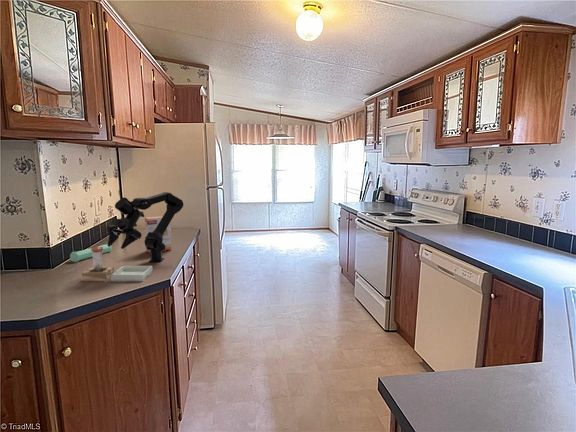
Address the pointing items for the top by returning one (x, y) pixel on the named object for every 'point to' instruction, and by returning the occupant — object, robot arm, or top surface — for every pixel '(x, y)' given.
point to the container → (87, 253)
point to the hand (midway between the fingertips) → (115, 247)
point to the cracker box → (151, 226)
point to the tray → (132, 273)
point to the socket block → (97, 274)
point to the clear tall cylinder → (97, 259)
